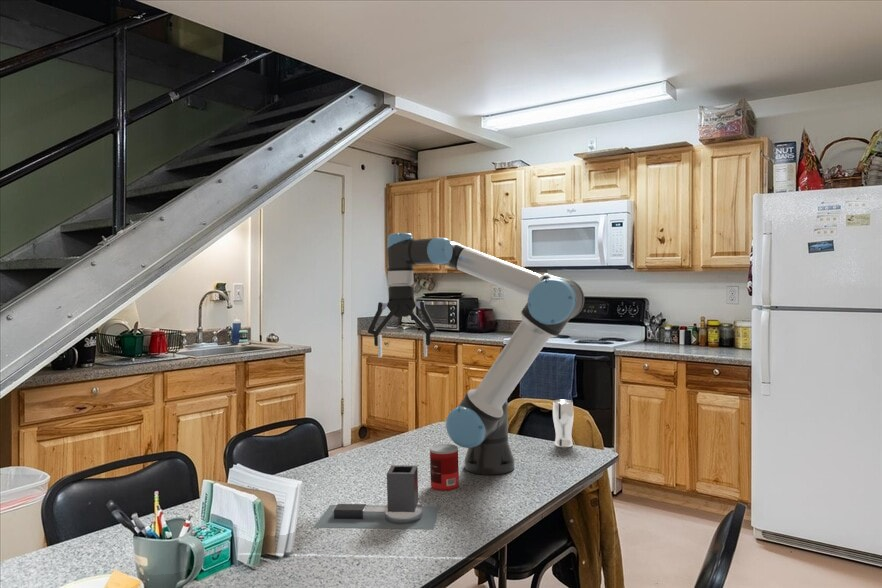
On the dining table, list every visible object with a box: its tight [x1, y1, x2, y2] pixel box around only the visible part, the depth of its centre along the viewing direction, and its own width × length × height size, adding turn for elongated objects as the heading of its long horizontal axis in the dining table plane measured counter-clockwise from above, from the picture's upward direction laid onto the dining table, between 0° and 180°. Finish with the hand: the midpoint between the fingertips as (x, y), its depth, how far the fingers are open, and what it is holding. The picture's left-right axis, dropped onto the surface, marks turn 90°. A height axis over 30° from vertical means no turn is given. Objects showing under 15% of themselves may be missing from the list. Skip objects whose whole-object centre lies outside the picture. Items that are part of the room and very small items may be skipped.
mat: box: [312, 504, 440, 531], centre depth 143 cm, size 28×14×1 cm, turn 84°
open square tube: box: [386, 464, 419, 512], centre depth 142 cm, size 6×6×9 cm
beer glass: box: [552, 399, 575, 449], centre depth 202 cm, size 7×7×15 cm
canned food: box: [429, 443, 460, 492], centre depth 163 cm, size 8×8×11 cm
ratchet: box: [332, 501, 423, 524], centre depth 143 cm, size 22×9×6 cm, turn 85°
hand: (402, 356), depth 176 cm, fingers open, 13 cm apart
